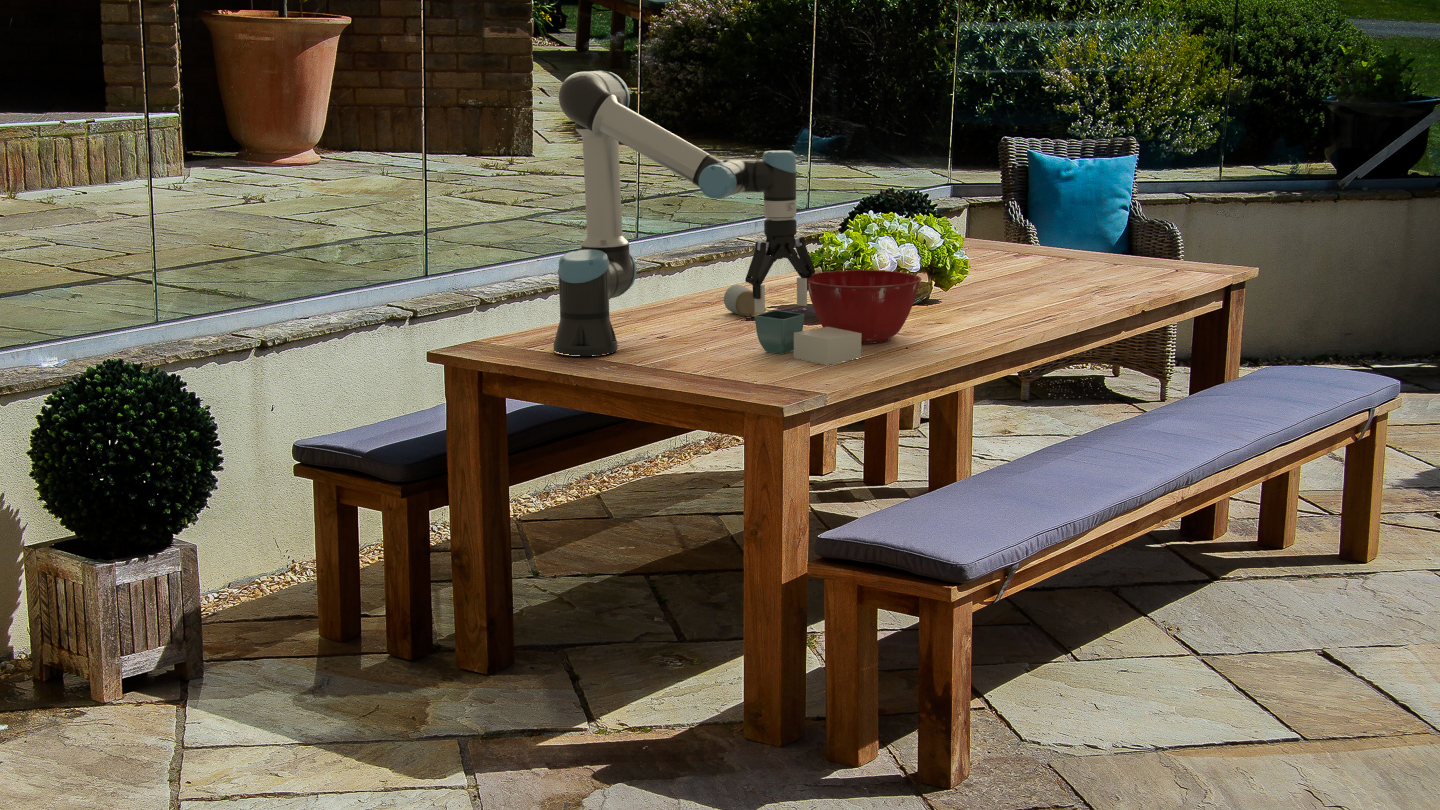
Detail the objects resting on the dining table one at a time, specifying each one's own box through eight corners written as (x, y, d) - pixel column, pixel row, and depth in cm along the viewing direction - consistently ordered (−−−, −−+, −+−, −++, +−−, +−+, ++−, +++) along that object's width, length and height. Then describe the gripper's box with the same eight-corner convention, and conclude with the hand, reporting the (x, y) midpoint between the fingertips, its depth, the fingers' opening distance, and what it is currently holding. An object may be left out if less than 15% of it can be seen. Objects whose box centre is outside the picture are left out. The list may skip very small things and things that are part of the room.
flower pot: (784, 357, 337) (784, 319, 334) (753, 352, 342) (753, 315, 340) (805, 351, 343) (805, 313, 341) (774, 346, 349) (775, 309, 346)
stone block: (827, 365, 327) (827, 339, 326) (793, 357, 335) (793, 332, 334) (861, 358, 334) (861, 333, 333) (827, 351, 342) (827, 326, 341)
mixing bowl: (786, 332, 366) (786, 272, 362) (887, 324, 375) (888, 265, 372) (833, 354, 340) (834, 289, 336) (940, 345, 350) (942, 281, 346)
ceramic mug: (736, 318, 386) (736, 289, 384) (723, 313, 393) (723, 285, 391) (771, 315, 390) (772, 287, 388) (758, 310, 397) (758, 283, 395)
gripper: (751, 224, 324) (752, 317, 329) (829, 214, 340) (830, 303, 345) (729, 221, 330) (730, 313, 335) (807, 212, 346) (808, 300, 351)
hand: (781, 308), depth 340 cm, fingers open, 13 cm apart
